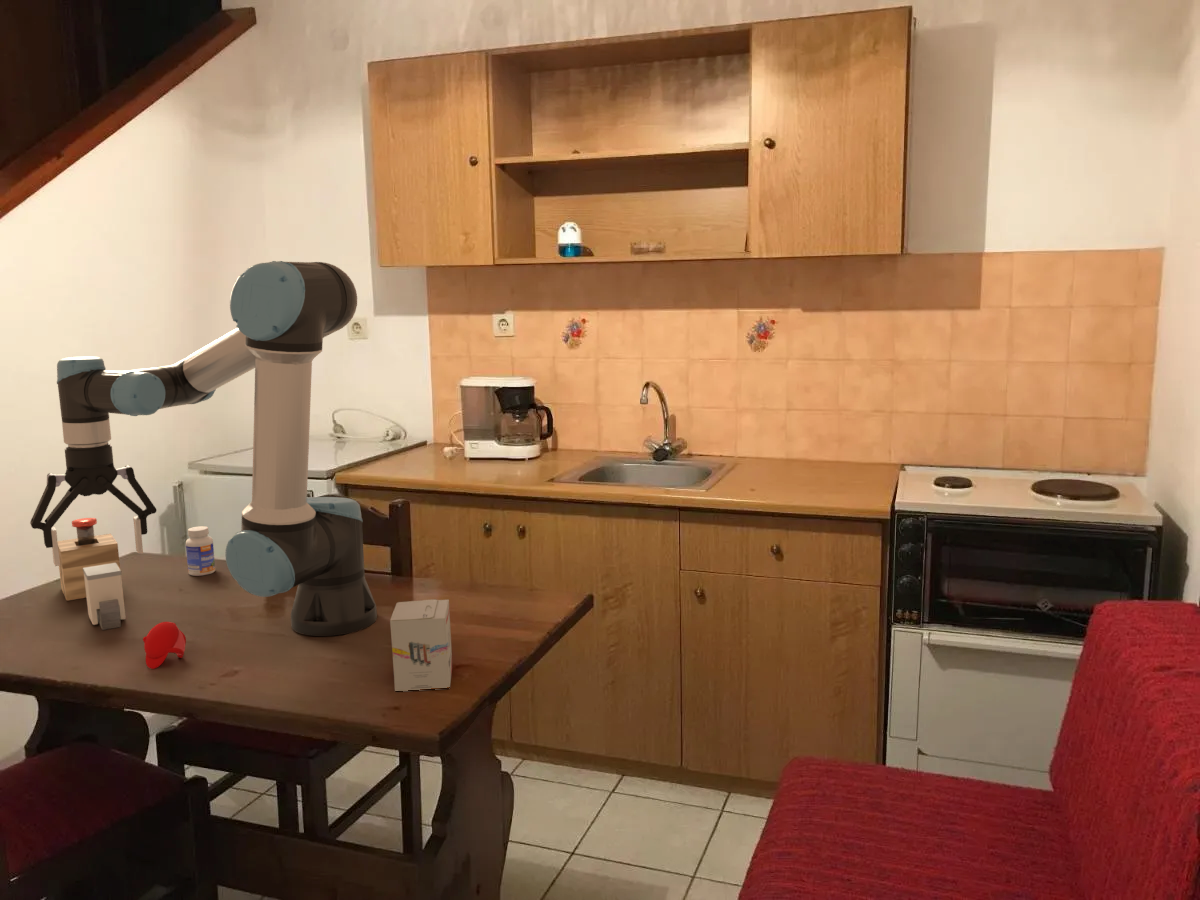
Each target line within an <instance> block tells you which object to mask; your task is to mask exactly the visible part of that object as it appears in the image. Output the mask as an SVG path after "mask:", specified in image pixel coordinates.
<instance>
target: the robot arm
mask: <svg viewBox="0 0 1200 900" xmlns="http://www.w3.org/2000/svg"><path fill="white" fill-rule="evenodd" d="M357 294H358V293H357V290H356V286H355V283H354V282H353V281H352V279H351V278H350V276H349V275H348V274H347V273H346V272H345V271H344V270H342V269H341V268H340V267H338V266H336V265H334V264H330V263H328V262H322V261H314V262H313V261H311V262H310V261H309V262H307V261H305V262H304V261H282V260H279V261H278V260H277V261H276V260H272V261H269V262H260V263H256V264H254V265H251V266H250V267H248V268H246V270H244V271H243V273H241V274H240V275H239V276H238V277H237V279H236V280H235V283H234V285H233V286H232V290H231V292H230V298H229V310H230V316H231V319H232V321H233V322H235V323H236V328H235V329H233V330H231V331H229V332H227V333H226V334H224V335H223V336H221V337H219V338H218V339H217V338H216V339H215V340H213V341H212V342H210V343H209V344H207V345H205V346H203V347H201V348H200V349H198V350H196V351H195V352H193V353H192V354H189V355H188V356H187V357H185V358H183V359H181V360H179V361H177V362H176V363H174V364H173V363H172V364H170V365H161V366H157V367H156V366H155V367H148V368H147V367H146V368H137V369H130V370H108V369H106V366H105V361H104V359H103V358H101V357H99V356H73V357H72V356H71V357H65V358H61V359H60V360H59V361H57V364H56V374H57V375H56V377H57V378H56V385H57V390H58V397H59V398H58V399H59V407H60V416H61V426H62V436H63V437H62V438H63V443H64V444H66V446H65V447H64V456H65V466H66V470H65V473H64V474H63V473H61V474H58V473H57V474H55V473H53V472H49V473H47V475H46V486H45V488H44V491H43V493H42V495H41V497H40V499H39V502H38V504H37V506H36V508H35V510H34V513H33V515H32V517H31V518H30V522H29V524H30V526H31V528H32V529H34V530H35V529H37V530H40V531H42V533H43V542H44V543H43V544H44V546H45V547H46V549H50V548H51V549H52V551H51V552H52V559H53V564H54V567H59V566H60V560H59V551H58V541H59V540H58V534H57V529H56V527H55V526H54V525H55V524H56V523H57V522H58V521H59V519H60V518H61V517H62V516H63V514H64V513H65V512H66V510H67V509H69V507H70V505H71V504H72V503H73V502H74V501H75V500H76V499H77V498H78V497H79V496H83V497H89V496H92V495H96V496H97V495H98V496H100V495H104V494H105V493H107V492H108V493H110V494H112V495H113V496H114V497H115V498H116V499H118V500H119V501H120V502H121V503H122V504H123V505H125V506H126V507H127V508H128V509H130V511H132V512H133V513H135V515H136V516H133V530H134V540H135V550H136V551H135V552H137V553H138V554H143V553H144V549H143V538H142V536H144V535H147V533H148V521H147V520H148V519H147V518H148V517H149V516H151V515H152V514H155V513H157V507H155V505H154V503H153V502H152V500H151V499H150V498H149V496H148V495H147V493H146V491H145V490H144V489H143V488H142V486H141V484H140V483H139V482H138V480H137V479H136V475H135V472H134V468H133V467H132V466H131V465H130V464H126V465H125V466H123V467H119V468H115V465H114V455H113V446H112V444H111V443H110V440H112V432H111V425H110V424H111V423H110V414H117V415H126V416H130V417H137V416H151V415H153V414H155V413H156V412H158V410H161V409H167V408H174V407H178V406H179V407H180V406H184V405H185V406H186V405H195V404H198V403H201V402H205V401H208V400H210V399H211V398H212V397H213V396H214V393H215V392H216V390H217V389H219V388H221V387H222V386H225V385H226V384H228V383H230V382H231V381H233V380H235V379H237V378H239V377H241V376H243V375H244V374H246V373H249V372H250V371H252V370H254V395H253V396H254V400H253V405H254V407H253V413H254V414H253V439H252V440H253V443H252V444H253V446H252V480H251V481H252V482H251V484H252V486H251V502H249V504H247V505H246V506H244V507H243V509H242V511H241V523H240V524H241V531H237V532H235V533H234V535H233V536H232V537H231V538H230V539H229V540H228V542H227V544H226V548H225V563H226V565H227V569H228V571H229V574H230V575H231V577H232V578H233V579H234V580H235V581H236V582H237V584H238V585H239V587H240V588H242V589H243V590H245V592H247V593H249V594H251V595H254V596H256V597H261V598H266V597H268V598H269V597H273V596H275V595H278V594H282V593H284V594H285V593H287V592H289V591H290V590H291V589H292V588H294V587H296V586H297V588H296V592H295V597H294V600H293V603H292V607H291V611H290V625H291V628H292V630H293V631H294V632H297V633H299V634H302V635H305V636H314V637H329V636H331V637H332V636H339V635H341V636H342V635H345V634H346V635H347V634H350V633H354V632H358V631H361V630H364V629H366V628H368V627H370V626H371V625H373V624H374V623H375V622H376V621H377V620H378V619H377V618H378V616H377V615H378V614H377V613H378V612H377V611H378V610H377V604H376V602H375V599H374V597H373V594H372V592H371V590H370V587H369V585H368V582H367V580H366V576H365V557H364V540H363V539H364V538H363V522H364V521H363V518H362V512H361V506H360V503H358V501H356V500H355V499H352V498H349V497H348V498H347V497H337V496H316V497H315V496H313V497H312V496H310V497H309V496H308V478H309V477H308V475H309V474H308V473H309V455H310V454H309V449H310V427H311V426H310V423H311V422H310V421H311V400H312V399H311V397H312V394H311V393H312V371H313V370H312V369H313V367H312V366H313V361H314V359H315V358H316V357H317V356H318V355H320V354H321V353H322V352H323V339H324V338H325V337H328V336H329V335H331V334H333V333H335V332H337V331H341V329H343V328H345V326H347V325H348V324H349V323H350V322H351V320H352V319H353V317H354V316H355V313H356V311H357V308H358V307H357V306H358V295H357ZM118 476H120V477H121V478H122V479H124V480H127V482H128V483H129V486H131V488H132V489H133V491H134V492H135V493H136V495H137V496H138V497H139V499H140V501H141V502H142V503H143V505H144V506H145V507H143V508H141V507H140V506H139V505H138V504H137V503H135V502H134V501H133V500H132V499H130V497H128V496H127V495H126V494H125V493H123V492H122V491H121V490H120V489H119V488H118V487H116V486H115V485H114V484H113V483H114V482H115V480H116V479H117V477H118ZM62 482H65V483H67V485H69V489H67V491H65V494H64V496H63V497H61V499H60V501H58V503H57V504H56V506H55V507H54V508H53V510H52V511H51V512H50V513H49V514H48V516H47V517H46V518H45V519H44V516H45V514H46V512H47V510H48V507H49V505H50V503H51V501H52V499H53V496H54V495H55V492H56V488H57V487H60V486H61V485H62ZM43 519H44V520H43Z"/></svg>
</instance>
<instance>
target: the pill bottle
mask: <svg viewBox="0 0 1200 900" xmlns="http://www.w3.org/2000/svg"><path fill="white" fill-rule="evenodd" d="M209 533H210V531H209V527H208V526H206V525H205V526H201V525H199V526H193V527H190V528H188V529H187V535H188V537H189V538H187V539H186V541H185V551H186V553H185V554H186V562H187V573H188V574H189V575H190V576H195V577H198V576H199V577H200V576H207V575H211V574H214V572H215V571H216V560H215V551H214V540H213V537H212V536H210V534H209Z"/></svg>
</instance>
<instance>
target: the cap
mask: <svg viewBox="0 0 1200 900" xmlns="http://www.w3.org/2000/svg"><path fill="white" fill-rule="evenodd" d="M142 641H143V643H144V645H143V647H144V653H145V664H146V666H147V668H149V669H150V668H151V669H152V670H154V669H157V668H159V667H160V666H162V664H163V663H164V661H165V660H166V658H167V657H168V655H169V654H172V653H173V654H176V655H177V658H179V659H182V658H183V657H184V654H185V650H186V644H187V638H186V635H185V634H184V632H183V631H181V630H180V629H179V627H178V626H177V624H176V623H175V622H171V621H162V622H159V623H157V624H156V625H154V626H153V627H151V629H150V630H149V632H148V633H147V635H145V636H144V637H143V638H142Z"/></svg>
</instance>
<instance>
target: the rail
mask: <svg viewBox="0 0 1200 900" xmlns="http://www.w3.org/2000/svg"><path fill="white" fill-rule="evenodd" d="M99 608H100V609H96V612H97V621H98V624H99V626H100V628H101V630H102V631H105V630H110V629H116V628H121V627H122V625H121V624H122V622H121V619H120V613H119V603H118V599H113V600H108V601H102V602H99Z"/></svg>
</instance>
